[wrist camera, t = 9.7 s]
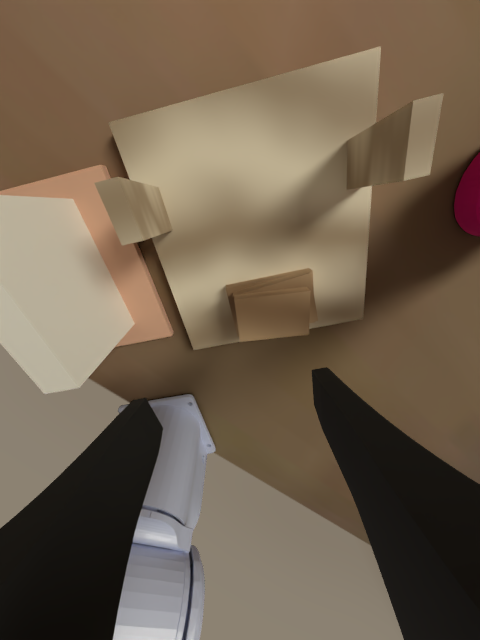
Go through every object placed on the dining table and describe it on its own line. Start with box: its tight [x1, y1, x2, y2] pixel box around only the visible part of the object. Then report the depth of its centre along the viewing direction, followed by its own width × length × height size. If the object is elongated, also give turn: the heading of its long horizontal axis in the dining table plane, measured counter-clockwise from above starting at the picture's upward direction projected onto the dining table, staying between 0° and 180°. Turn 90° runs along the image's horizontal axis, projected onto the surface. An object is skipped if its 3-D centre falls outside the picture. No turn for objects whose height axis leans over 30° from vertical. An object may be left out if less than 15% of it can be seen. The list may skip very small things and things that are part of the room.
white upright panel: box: [0, 195, 135, 394], centre depth 12 cm, size 2×9×7 cm, turn 12°
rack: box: [95, 47, 443, 350], centre depth 13 cm, size 15×14×6 cm
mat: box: [0, 165, 174, 347], centre depth 16 cm, size 12×7×1 cm, turn 12°
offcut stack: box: [226, 268, 318, 342], centre depth 15 cm, size 4×6×2 cm
